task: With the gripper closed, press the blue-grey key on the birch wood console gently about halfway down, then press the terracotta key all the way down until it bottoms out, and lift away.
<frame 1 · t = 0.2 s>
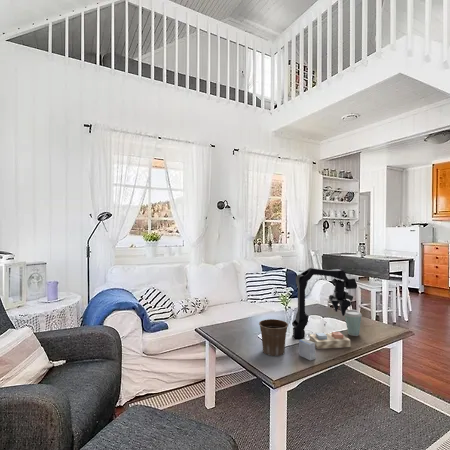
hand: (339, 313, 196), 14 cm above the table, tool pointing down, fingers open, 9 cm apart
blue grey key: (321, 336, 183), point 4 cm above the table, slide at 0.0 cm
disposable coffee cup: (353, 334, 198), on the table
key console: (329, 343, 183), on the table
medicine box: (307, 357, 165), on the table
plant pot: (273, 352, 173), on the table
terracotta key: (337, 335, 184), point 4 cm above the table, slide at 0.0 cm
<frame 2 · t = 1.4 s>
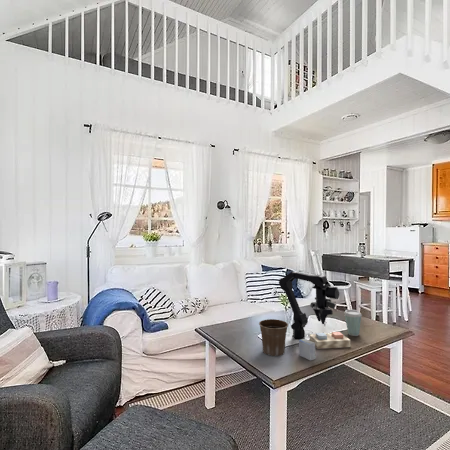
hand: (321, 322, 183), 13 cm above the table, tool pointing down, fingers open, 5 cm apart
nothing on the table moved.
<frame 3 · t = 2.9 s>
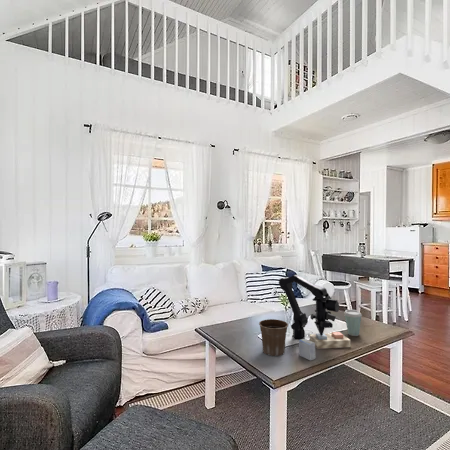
hand: (321, 334, 183), 6 cm above the table, tool pointing down, fingers closed, pressing on blue grey key
blue grey key: (321, 337, 183), point 4 cm above the table, slide at 0.4 cm, touching gripper
everything else where it was.
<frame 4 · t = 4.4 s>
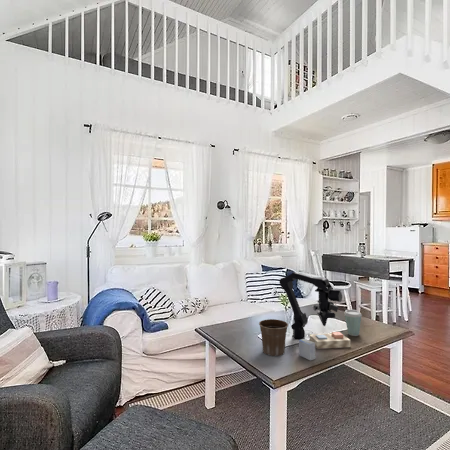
hand: (324, 325, 183), 11 cm above the table, tool pointing down, fingers closed
blue grey key: (321, 338, 183), point 3 cm above the table, slide at 1.2 cm
everything else where it was.
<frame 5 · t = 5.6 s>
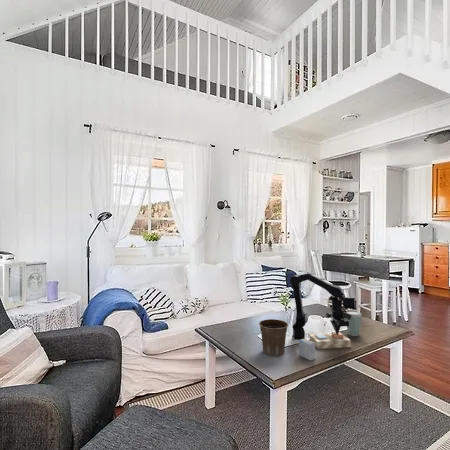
hand: (337, 333, 184), 6 cm above the table, tool pointing down, fingers closed, pressing on terracotta key
terracotta key: (337, 335, 184), point 4 cm above the table, slide at 0.0 cm, touching gripper
everything else where it was.
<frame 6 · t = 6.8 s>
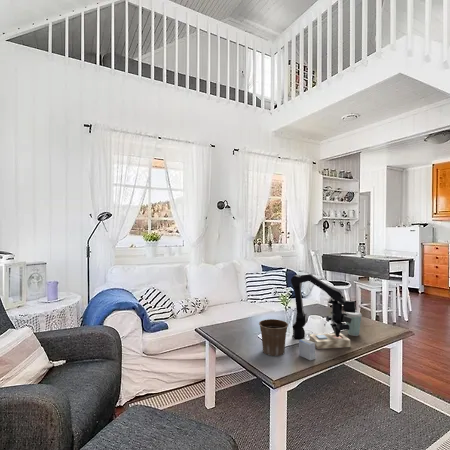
hand: (337, 336, 184), 4 cm above the table, tool pointing down, fingers closed
terracotta key: (337, 340, 184), point 2 cm above the table, slide at 2.6 cm
everything else where it was.
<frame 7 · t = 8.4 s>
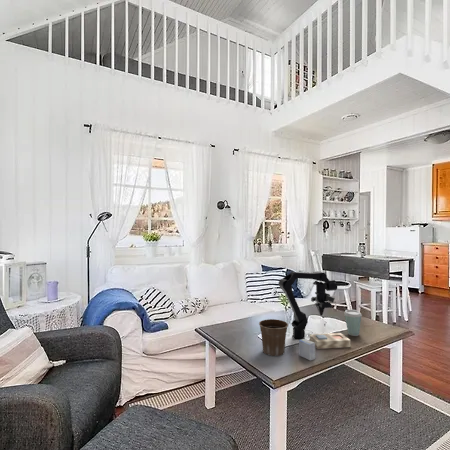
hand: (321, 315, 197), 13 cm above the table, tool pointing down, fingers closed
nothing on the table moved.
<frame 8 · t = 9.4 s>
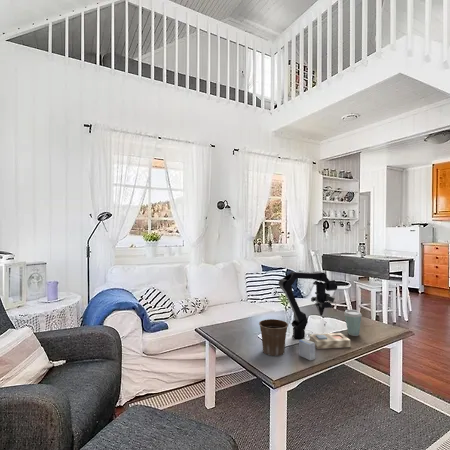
hand: (321, 315, 197), 13 cm above the table, tool pointing down, fingers closed
nothing on the table moved.
at the end: blue grey key slide at 1.2 cm; terracotta key slide at 2.6 cm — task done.
